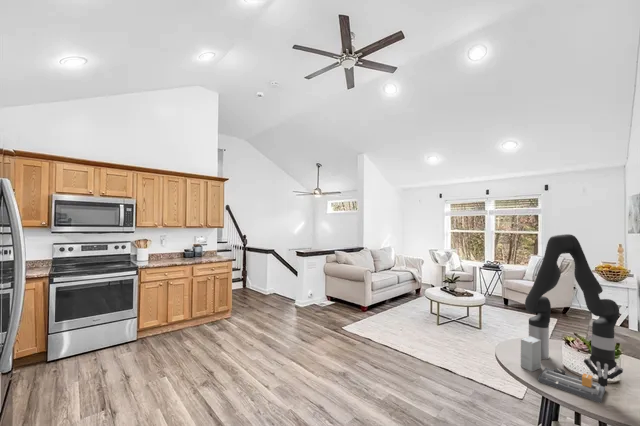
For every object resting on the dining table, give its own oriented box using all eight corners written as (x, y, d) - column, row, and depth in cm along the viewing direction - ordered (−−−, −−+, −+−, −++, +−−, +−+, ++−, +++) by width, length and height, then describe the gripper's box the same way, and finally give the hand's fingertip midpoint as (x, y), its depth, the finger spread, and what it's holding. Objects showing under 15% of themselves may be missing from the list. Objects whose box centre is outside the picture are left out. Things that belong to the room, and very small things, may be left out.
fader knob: (583, 385, 138) (583, 372, 138) (592, 388, 135) (592, 375, 135) (581, 388, 135) (582, 376, 135) (590, 391, 132) (591, 379, 132)
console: (545, 371, 154) (545, 363, 154) (605, 390, 137) (605, 382, 137) (538, 381, 144) (538, 373, 144) (600, 403, 128) (600, 394, 128)
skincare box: (529, 363, 162) (529, 335, 162) (541, 368, 156) (542, 339, 156) (519, 366, 158) (520, 338, 158) (532, 372, 153) (532, 342, 153)
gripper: (625, 348, 129) (625, 389, 129) (584, 338, 139) (584, 376, 139) (623, 353, 124) (623, 396, 124) (581, 343, 134) (581, 382, 134)
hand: (602, 385), depth 131 cm, fingers closed
